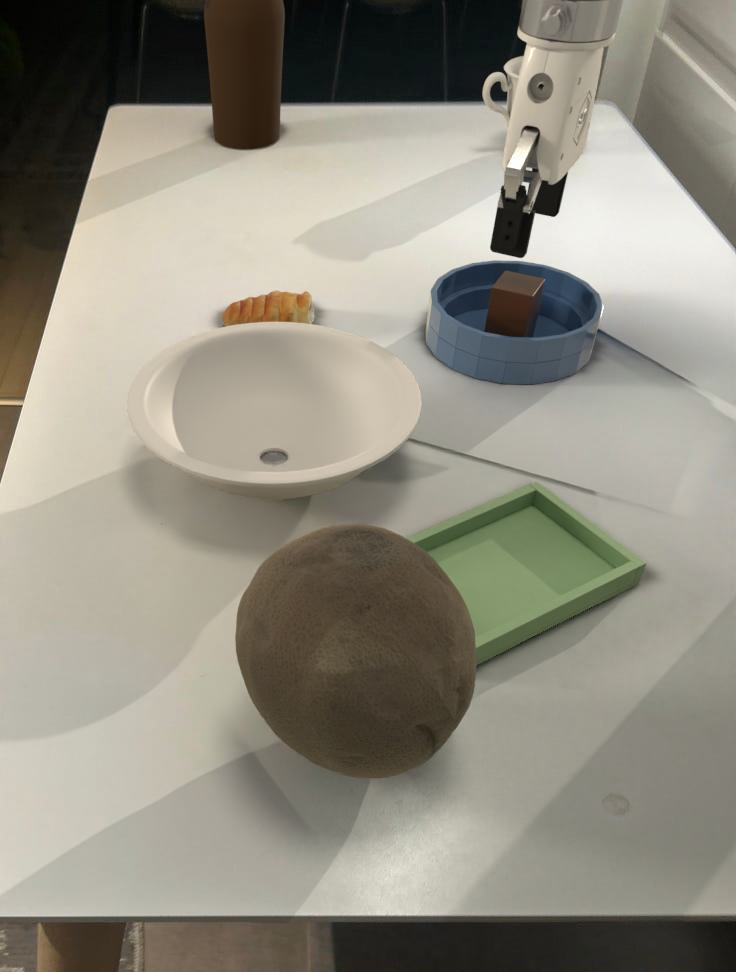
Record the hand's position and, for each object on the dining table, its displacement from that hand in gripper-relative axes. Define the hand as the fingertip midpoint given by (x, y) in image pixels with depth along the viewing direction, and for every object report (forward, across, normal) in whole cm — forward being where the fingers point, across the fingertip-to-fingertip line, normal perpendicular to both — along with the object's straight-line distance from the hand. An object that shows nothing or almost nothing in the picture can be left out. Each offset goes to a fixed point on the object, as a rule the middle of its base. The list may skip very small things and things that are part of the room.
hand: (524, 232), depth 87 cm
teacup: (+12, +52, +14) cm, 56 cm away
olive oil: (+12, +39, +51) cm, 65 cm away
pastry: (+12, -8, +22) cm, 26 cm away
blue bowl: (+11, 0, 0) cm, 11 cm away
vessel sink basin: (+12, -28, +11) cm, 32 cm away
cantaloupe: (+11, -52, -7) cm, 54 cm away
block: (+11, 0, 0) cm, 11 cm away
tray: (+11, -34, -11) cm, 37 cm away
